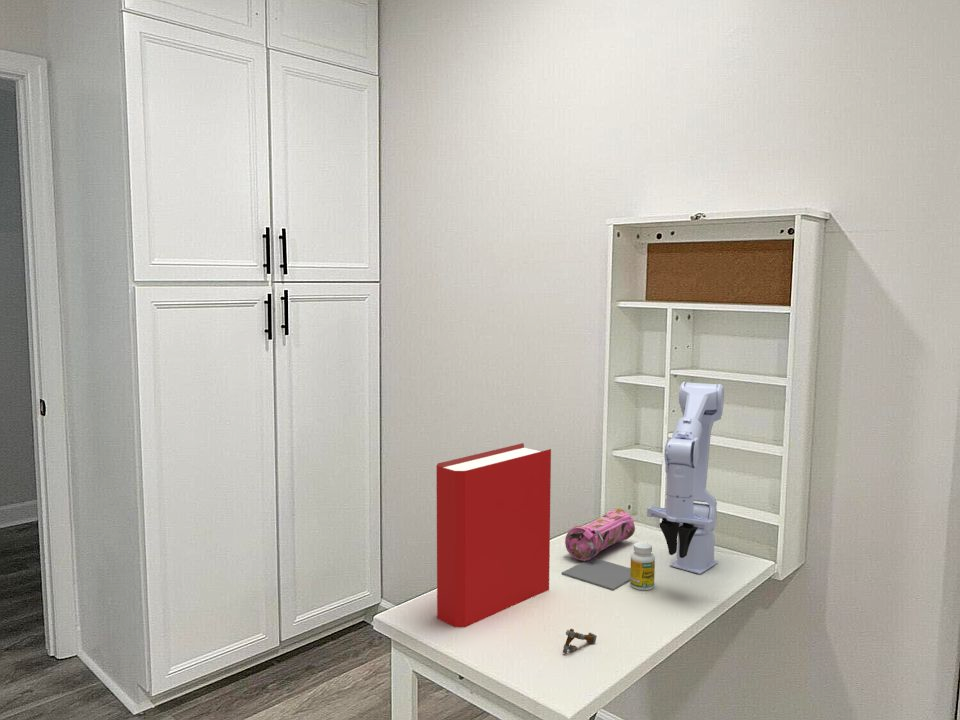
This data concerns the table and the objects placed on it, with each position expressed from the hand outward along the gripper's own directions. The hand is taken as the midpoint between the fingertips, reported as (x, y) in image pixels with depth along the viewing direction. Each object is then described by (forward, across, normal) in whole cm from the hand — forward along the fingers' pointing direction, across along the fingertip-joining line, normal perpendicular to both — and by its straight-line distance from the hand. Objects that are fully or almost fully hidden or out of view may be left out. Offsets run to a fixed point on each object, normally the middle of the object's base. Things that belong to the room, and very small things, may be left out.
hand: (677, 555), depth 172 cm
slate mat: (+9, -19, 0) cm, 21 cm away
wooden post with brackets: (+10, -2, -33) cm, 35 cm away
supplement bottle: (+10, -8, 0) cm, 13 cm away
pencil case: (+9, -27, +12) cm, 31 cm away
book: (+10, -28, -29) cm, 41 cm away
